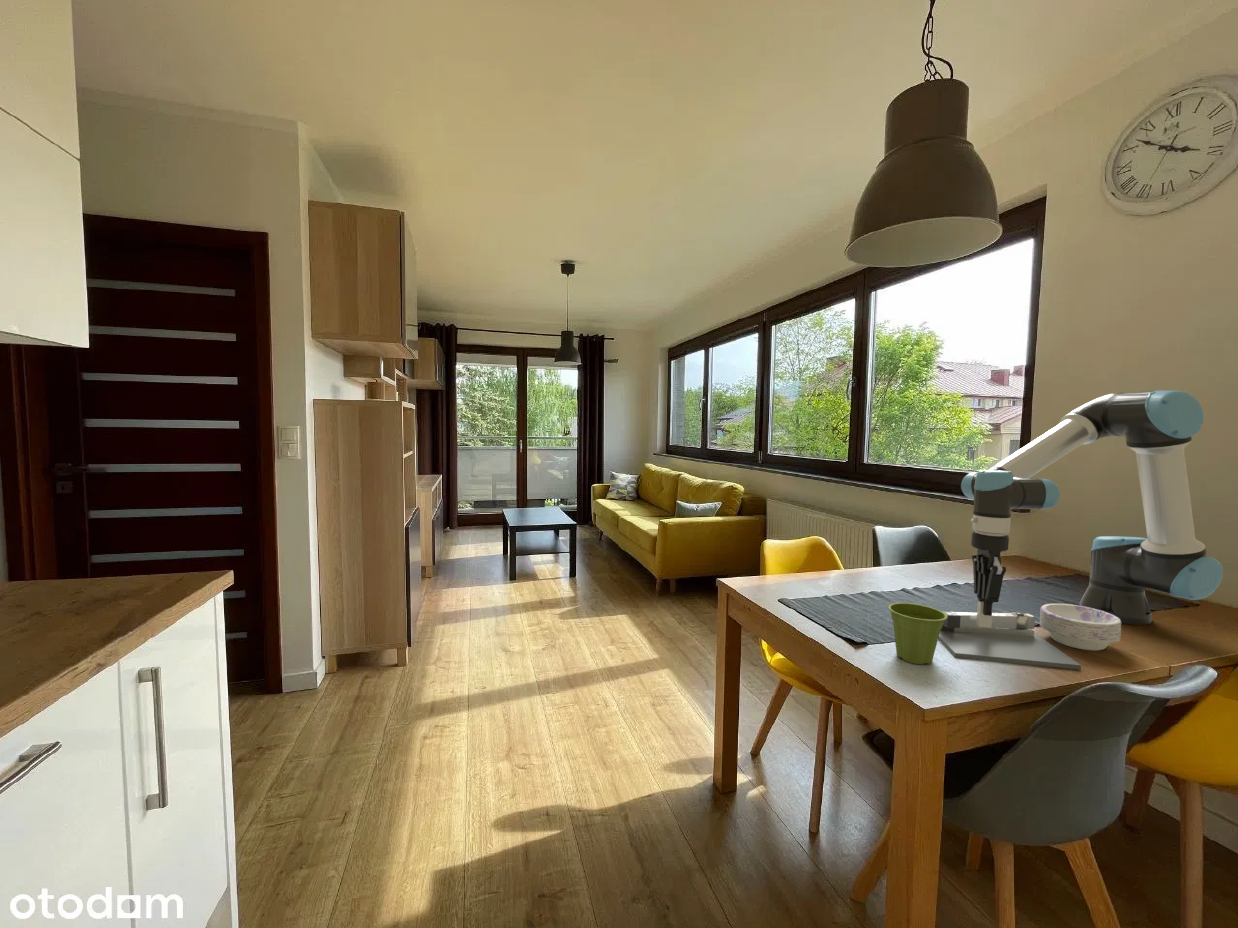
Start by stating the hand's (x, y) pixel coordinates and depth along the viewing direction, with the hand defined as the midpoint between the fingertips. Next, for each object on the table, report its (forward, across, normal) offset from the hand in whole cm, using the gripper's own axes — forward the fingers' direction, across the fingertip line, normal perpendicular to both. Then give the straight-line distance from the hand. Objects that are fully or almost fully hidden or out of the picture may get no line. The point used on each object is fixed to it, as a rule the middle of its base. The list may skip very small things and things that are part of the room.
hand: (983, 626), depth 131 cm
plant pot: (+4, +15, -20) cm, 25 cm away
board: (+4, +1, +2) cm, 5 cm away
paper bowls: (+4, -6, +23) cm, 24 cm away
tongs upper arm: (+1, -4, +2) cm, 5 cm away
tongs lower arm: (+3, -5, +2) cm, 6 cm away
